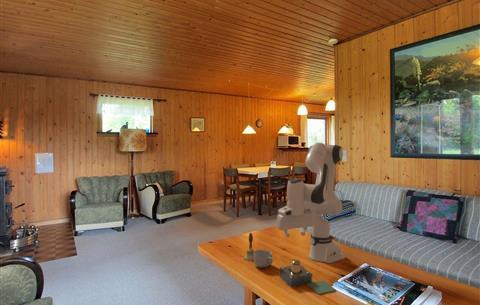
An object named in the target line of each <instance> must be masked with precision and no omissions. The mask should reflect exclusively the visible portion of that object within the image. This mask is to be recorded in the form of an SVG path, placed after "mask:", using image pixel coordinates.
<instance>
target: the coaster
mask: <svg viewBox="0 0 480 305" xmlns="http://www.w3.org/2000/svg"><path fill="white" fill-rule="evenodd" d="M306 286H308V287H309V288H310V289H311V290H312V291H314V292H315V293H316V294H317V295H326V294H328V293H334V292H336V291H337V289H336V288H335V287H333V285H332V286H331V285H330V284H329V283H327V281H325V280H323V279H321V280H318V281H317V280H316V281H312V283H307V285H306ZM335 290H336V291H335ZM333 291H334V292H333Z"/></svg>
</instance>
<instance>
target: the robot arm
mask: <svg viewBox="0 0 480 305" xmlns="http://www.w3.org/2000/svg"><path fill="white" fill-rule="evenodd" d="M343 156H344V149H343V147H342V146H340V145H338V144H325V143H323V142H316V143H314V144H312V145H311V146H310V147H308V149H307V155H306V158H305V166H306V168H307V169H308V170H309V171H311V173H314V174H316V179H315V184H311V183H304V181H303V179H302V178H297V177H296V178H291V179H289V180H288V181H287V185H286V186H287V187H286V188H287V189H286V198H287V201H286V205H285V206H283V207H281V208H279V209H278V210H277V213H278V214H277V216H276V228H277V229H278V230H280V231H283V233H284V236H285V238H286V239H287V238H290V233H288V230H293V229H301V228H303V229H302V231H301V232H300V236H306V232H307V230H308V228H311V234H310V251H309V254H308V257H309V259H311V260H313V261H316V262H321V263H326V264H331V263H335V262H338V261H341V260H345V259H346V255H345V254H344V253H342V250H341V247H340V246H339V244H337V243H336V242H334V241H333V240H336V236H334V235H331V234H330V233H331V224H330V223H329V221H328V220H327V219H326V218H325V217H324V216H323V215H328V216H335V215H337V216H338V215H339V214H340V213H341V212H342V210H343V203H342V201H341V200H340V199H339V198H338V197H337V195H336V193H335V191H334V190H335V189H334V184H335V177H336V176H335V175H336V165H337V164H338V163H339V162H341V161H342V159H343Z"/></svg>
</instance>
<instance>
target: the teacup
mask: <svg viewBox="0 0 480 305" xmlns="http://www.w3.org/2000/svg"><path fill="white" fill-rule="evenodd" d="M272 256H273V253H272V252H271V251H270V250H267V249H257V250H254V261H253V262H254V265H255V266H257V267H258V268H259V269H266V268H268V267H269V266H271V265H272V264H273V261H274V260H273V257H272Z"/></svg>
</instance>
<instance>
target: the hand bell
mask: <svg viewBox="0 0 480 305" xmlns="http://www.w3.org/2000/svg"><path fill="white" fill-rule="evenodd" d="M253 237H254V236H253V233H252V232H249V236H248V243H249V244H248V248H247V249H246V253H245V255H244V257H243V259H244V260H245V261H249V262H254V251H255V249H254V248H253V241H254V238H253Z"/></svg>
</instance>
